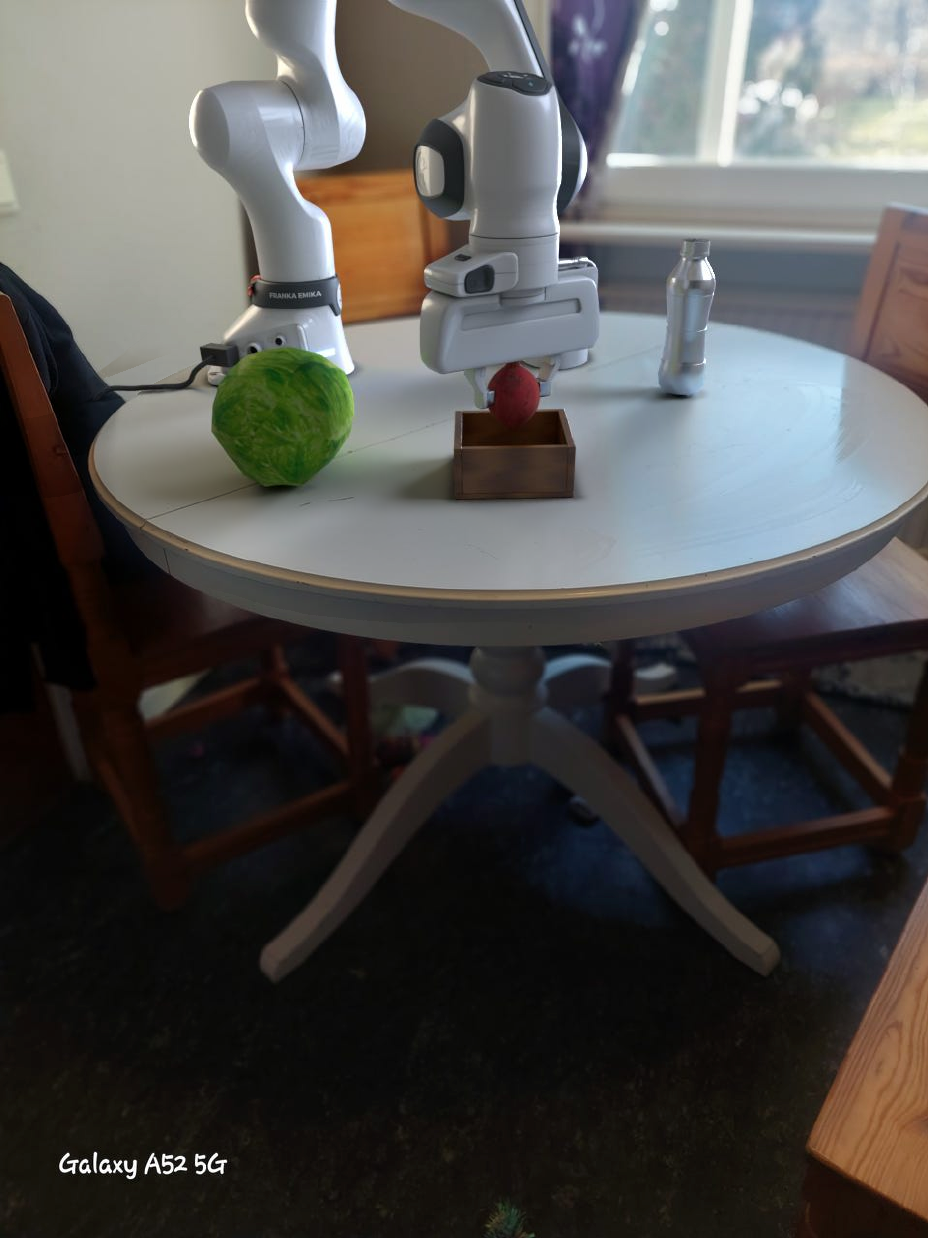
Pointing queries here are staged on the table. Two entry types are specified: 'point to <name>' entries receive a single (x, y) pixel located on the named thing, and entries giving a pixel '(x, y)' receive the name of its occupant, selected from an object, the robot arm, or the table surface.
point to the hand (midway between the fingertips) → (512, 401)
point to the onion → (514, 395)
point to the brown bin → (513, 456)
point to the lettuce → (283, 415)
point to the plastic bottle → (687, 319)
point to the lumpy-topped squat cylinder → (564, 359)
